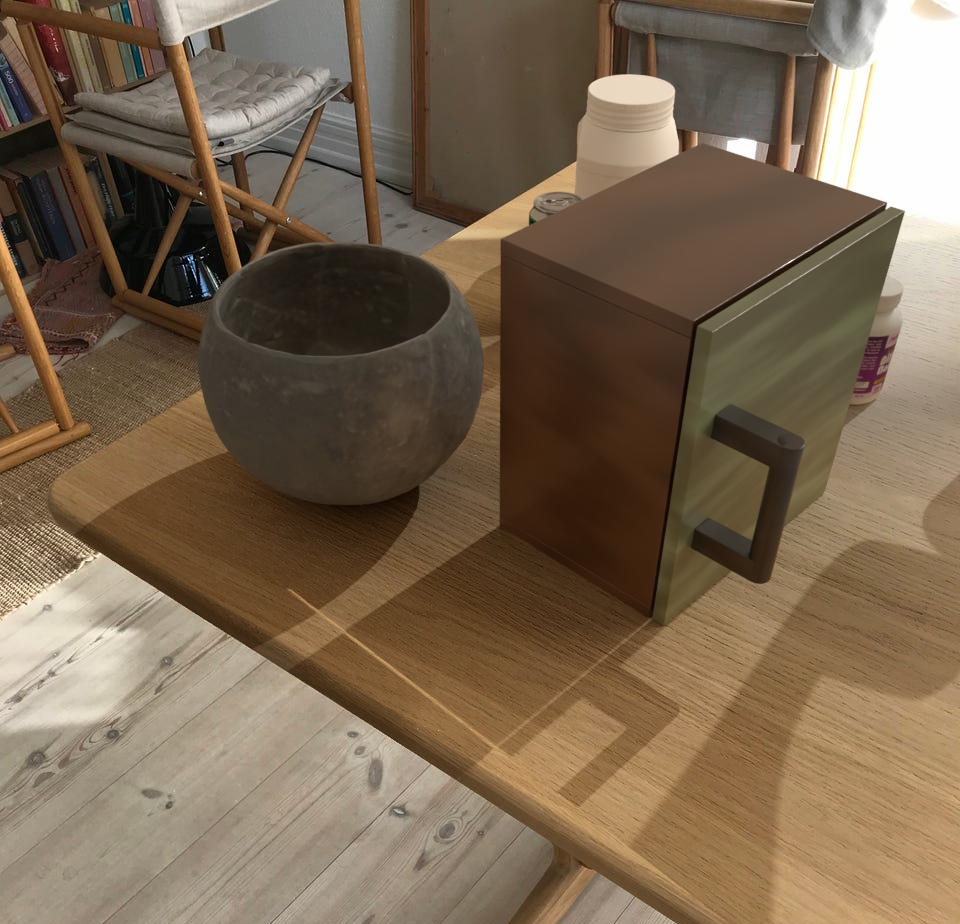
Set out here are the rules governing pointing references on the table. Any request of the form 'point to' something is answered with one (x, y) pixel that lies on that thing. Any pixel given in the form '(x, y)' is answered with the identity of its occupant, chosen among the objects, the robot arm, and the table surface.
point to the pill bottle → (880, 344)
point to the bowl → (340, 370)
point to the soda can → (551, 204)
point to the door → (768, 412)
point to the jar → (624, 131)
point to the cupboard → (633, 344)
